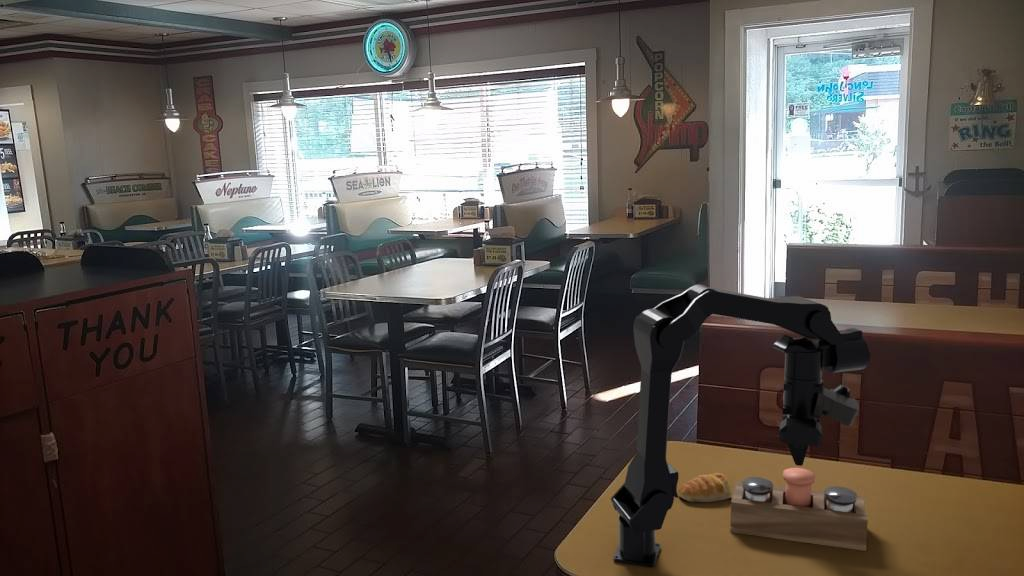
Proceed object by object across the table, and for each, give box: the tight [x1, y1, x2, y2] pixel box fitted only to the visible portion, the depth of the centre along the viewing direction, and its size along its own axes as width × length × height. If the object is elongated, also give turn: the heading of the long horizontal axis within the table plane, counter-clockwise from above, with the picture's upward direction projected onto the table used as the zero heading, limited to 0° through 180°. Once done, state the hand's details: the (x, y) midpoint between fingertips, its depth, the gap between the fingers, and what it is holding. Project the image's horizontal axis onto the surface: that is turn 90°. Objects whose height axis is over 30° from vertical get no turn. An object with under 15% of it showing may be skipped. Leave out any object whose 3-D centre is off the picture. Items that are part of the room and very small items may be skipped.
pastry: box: [677, 472, 733, 503], centre depth 147 cm, size 9×7×4 cm
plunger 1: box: [742, 476, 774, 503], centre depth 136 cm, size 5×5×6 cm
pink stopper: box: [782, 467, 816, 508], centre depth 133 cm, size 5×5×6 cm
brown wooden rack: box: [729, 481, 868, 552], centre depth 134 cm, size 9×21×5 cm, turn 70°
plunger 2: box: [823, 485, 858, 513], centre depth 131 cm, size 5×5×6 cm
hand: (799, 464), depth 132 cm, fingers closed
